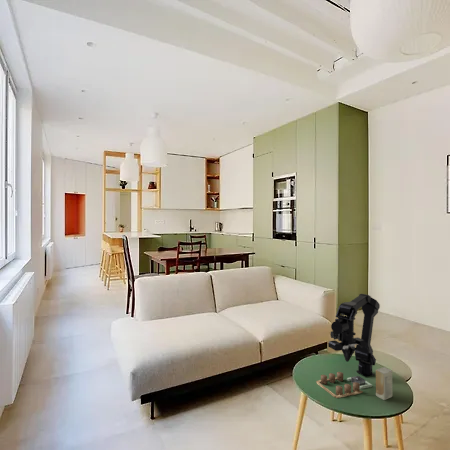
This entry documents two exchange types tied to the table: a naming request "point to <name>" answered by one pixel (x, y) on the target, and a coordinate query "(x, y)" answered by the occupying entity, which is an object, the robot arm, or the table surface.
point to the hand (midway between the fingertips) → (347, 361)
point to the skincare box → (384, 383)
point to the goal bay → (362, 385)
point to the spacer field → (338, 388)
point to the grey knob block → (358, 380)
